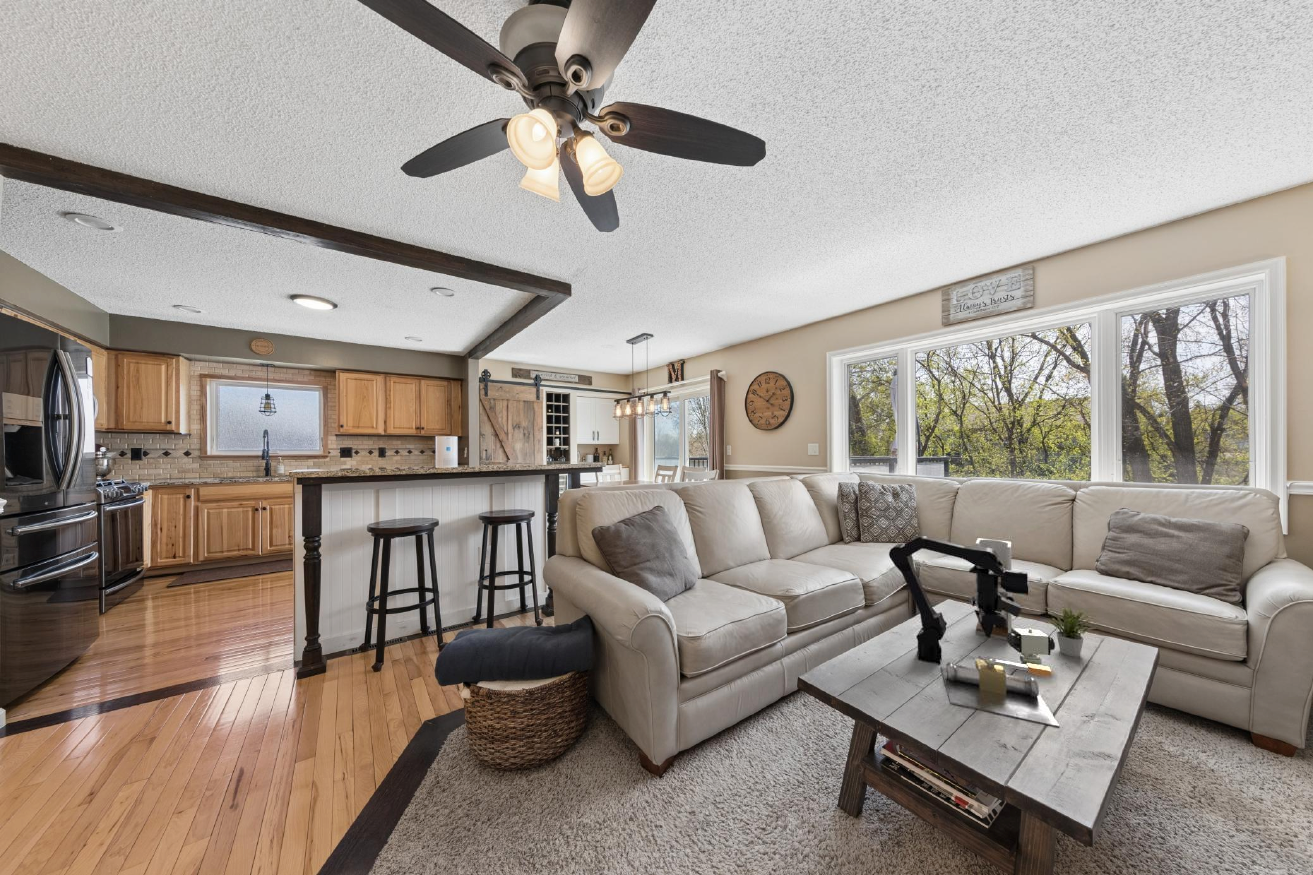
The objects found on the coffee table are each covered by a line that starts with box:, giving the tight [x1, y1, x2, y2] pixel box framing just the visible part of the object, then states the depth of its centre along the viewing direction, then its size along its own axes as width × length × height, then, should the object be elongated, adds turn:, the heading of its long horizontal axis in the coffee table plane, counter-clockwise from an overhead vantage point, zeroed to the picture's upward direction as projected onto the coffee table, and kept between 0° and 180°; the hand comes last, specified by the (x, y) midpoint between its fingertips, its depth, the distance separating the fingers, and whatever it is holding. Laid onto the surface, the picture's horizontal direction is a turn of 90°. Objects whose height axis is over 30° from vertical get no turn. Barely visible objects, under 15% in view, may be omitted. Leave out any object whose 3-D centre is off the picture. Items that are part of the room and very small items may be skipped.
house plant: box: [1045, 605, 1101, 658], centre depth 156 cm, size 14×14×16 cm
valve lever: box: [983, 656, 1052, 678], centre depth 133 cm, size 15×3×2 cm, turn 62°
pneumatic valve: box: [1006, 627, 1056, 665], centre depth 150 cm, size 6×12×12 cm, turn 78°
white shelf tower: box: [975, 537, 1013, 641], centre depth 175 cm, size 11×11×35 cm
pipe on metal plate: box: [940, 658, 1060, 728], centre depth 132 cm, size 24×22×7 cm
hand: (987, 637), depth 144 cm, fingers closed
